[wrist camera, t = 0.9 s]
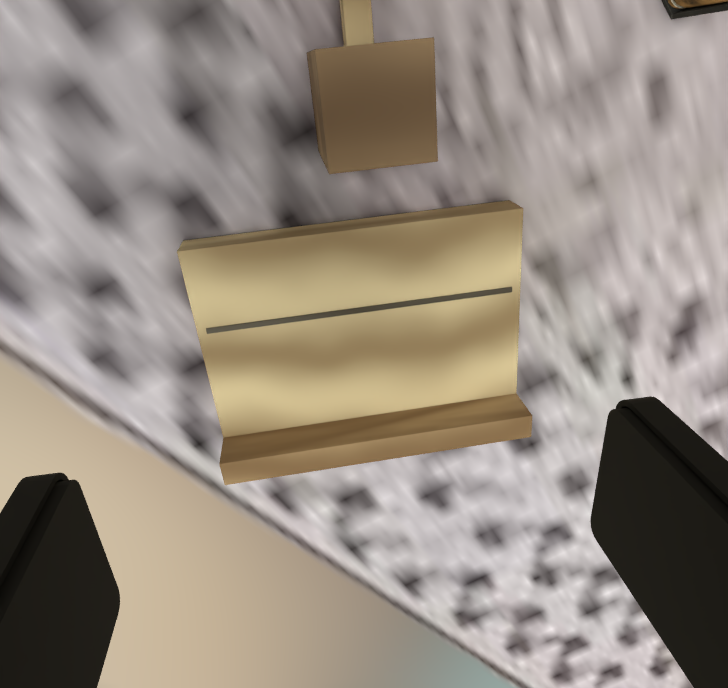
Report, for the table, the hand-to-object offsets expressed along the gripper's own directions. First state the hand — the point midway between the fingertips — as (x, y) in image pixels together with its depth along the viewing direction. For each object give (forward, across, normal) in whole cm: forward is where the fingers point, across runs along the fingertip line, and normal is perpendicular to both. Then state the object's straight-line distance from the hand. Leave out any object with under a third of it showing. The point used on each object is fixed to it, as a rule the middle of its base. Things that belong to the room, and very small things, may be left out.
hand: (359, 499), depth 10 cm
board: (+23, -3, +8) cm, 24 cm away
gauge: (+23, -3, -9) cm, 25 cm away
